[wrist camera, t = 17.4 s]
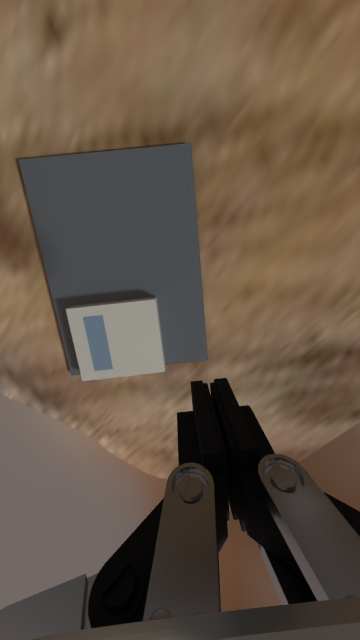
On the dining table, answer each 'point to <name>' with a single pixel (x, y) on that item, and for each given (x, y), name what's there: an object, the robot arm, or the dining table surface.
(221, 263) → the dining table surface
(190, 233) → the mat
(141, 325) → the white flat box
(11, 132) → the dining table surface
